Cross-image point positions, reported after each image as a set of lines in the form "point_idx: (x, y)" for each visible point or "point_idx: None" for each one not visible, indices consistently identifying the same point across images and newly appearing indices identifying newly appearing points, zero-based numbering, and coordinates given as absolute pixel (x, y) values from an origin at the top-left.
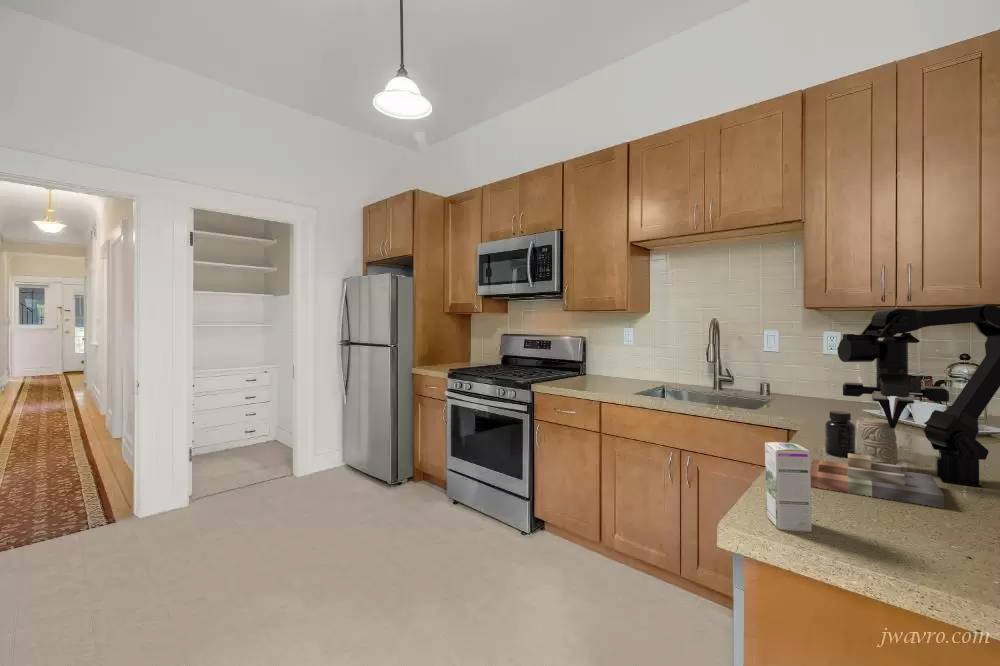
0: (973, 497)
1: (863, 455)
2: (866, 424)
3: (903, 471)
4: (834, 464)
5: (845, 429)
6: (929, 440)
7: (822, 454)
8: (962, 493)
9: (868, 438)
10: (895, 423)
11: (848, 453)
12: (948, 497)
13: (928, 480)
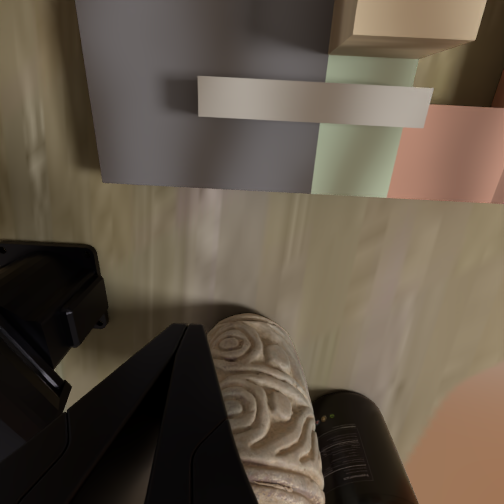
0: (3, 90)
1: (391, 18)
2: (310, 481)
3: (192, 181)
4: (450, 149)
5: (360, 496)
6: (54, 394)
7: (392, 398)
8: (36, 129)
9: (292, 407)
10: (155, 344)
11: (474, 30)
12: (68, 29)
13: (108, 67)
